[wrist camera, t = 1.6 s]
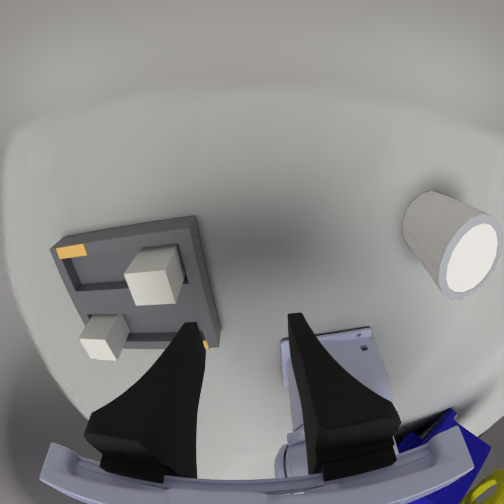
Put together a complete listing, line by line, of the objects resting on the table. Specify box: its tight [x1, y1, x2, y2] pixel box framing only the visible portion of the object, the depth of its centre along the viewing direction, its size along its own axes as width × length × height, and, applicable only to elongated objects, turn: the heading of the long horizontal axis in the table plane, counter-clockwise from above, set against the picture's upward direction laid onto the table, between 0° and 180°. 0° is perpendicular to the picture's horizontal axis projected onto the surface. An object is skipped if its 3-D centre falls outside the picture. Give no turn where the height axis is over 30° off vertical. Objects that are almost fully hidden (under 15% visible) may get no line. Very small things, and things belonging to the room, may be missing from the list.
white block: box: [79, 314, 130, 361], centre depth 22 cm, size 3×3×4 cm
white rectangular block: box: [124, 243, 186, 306], centre depth 19 cm, size 3×3×4 cm
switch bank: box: [50, 216, 221, 349], centre depth 23 cm, size 13×11×2 cm
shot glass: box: [402, 191, 503, 299], centre depth 18 cm, size 7×7×7 cm
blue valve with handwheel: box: [396, 408, 504, 504], centre depth 31 cm, size 26×27×30 cm
